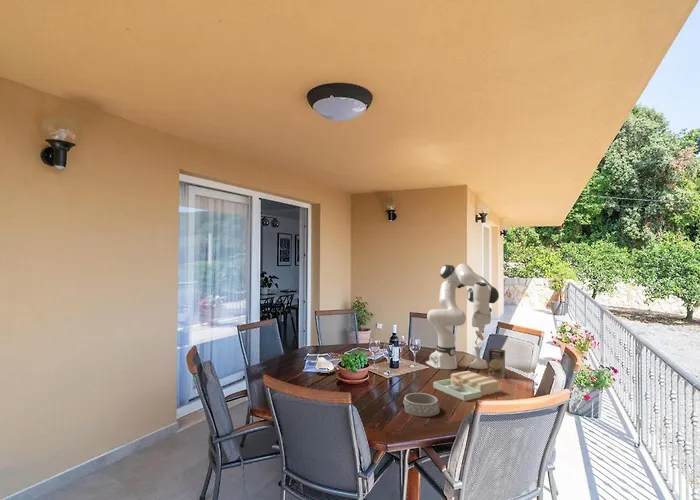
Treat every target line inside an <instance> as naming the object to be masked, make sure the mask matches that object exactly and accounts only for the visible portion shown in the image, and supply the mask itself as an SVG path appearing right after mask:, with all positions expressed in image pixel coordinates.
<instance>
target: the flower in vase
mask: <svg viewBox="0 0 700 500" xmlns="http://www.w3.org/2000/svg"><path fill="white" fill-rule="evenodd" d="M474 332H475V335H476V336H477V337H476V340H475V341H474V344H476V346H474V347H473V348H474V350H475V353H476V355H475V356H476V357H475V359H474V360H472V361H471V362H470V363H469V364H468V365H469V367H470V368H471V369H475V370H484V369H487V368H488V365H487V364H486V362H484V361H483V360H482V359H481V357H480V356H481V350H483V348H482V347H481V346H479V345H480V343H477V341H478V339H480V340H481V341H484V340H485V339H484V338H485V337H484V336H483V333H479V330H475V331H474Z"/></svg>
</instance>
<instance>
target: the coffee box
mask: <svg viewBox="0 0 700 500" xmlns="http://www.w3.org/2000/svg"><path fill="white" fill-rule="evenodd" d="M488 376H489V377H494V378H502V379H504V378H505V376H506V350H505V349H499V348H489V350H488Z"/></svg>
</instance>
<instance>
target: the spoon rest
mask: <svg viewBox="0 0 700 500" xmlns="http://www.w3.org/2000/svg"><path fill="white" fill-rule="evenodd" d="M316 363H317V364H316ZM315 364H316V365H315V370H316V372H318V373H319V372H321V373H328V374H331V373H332V372H333V371H334V369H335V366H334V365H333V364H332V363H331V362H330V361H328V359H326V358H325V357H319V356H318V357H317V358H316V360H315ZM319 368H328V369H329V370H319ZM330 372H331V373H330ZM321 373H320V374H321Z"/></svg>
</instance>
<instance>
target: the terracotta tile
mask: <svg viewBox="0 0 700 500" xmlns="http://www.w3.org/2000/svg"><path fill="white" fill-rule="evenodd" d="M452 382H453V384H454V385H457V386H459V387H462V389H463V386H462V383H461V381H460V380H458V379H456V378H453V379H452Z"/></svg>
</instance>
